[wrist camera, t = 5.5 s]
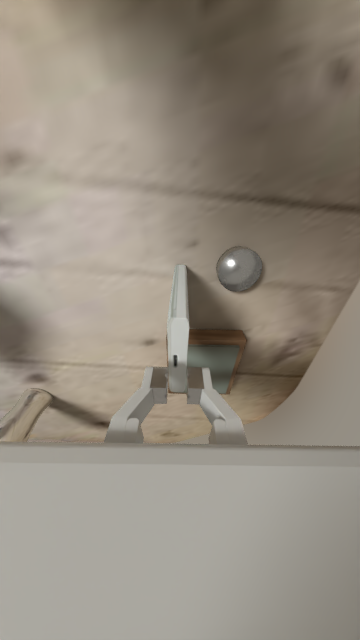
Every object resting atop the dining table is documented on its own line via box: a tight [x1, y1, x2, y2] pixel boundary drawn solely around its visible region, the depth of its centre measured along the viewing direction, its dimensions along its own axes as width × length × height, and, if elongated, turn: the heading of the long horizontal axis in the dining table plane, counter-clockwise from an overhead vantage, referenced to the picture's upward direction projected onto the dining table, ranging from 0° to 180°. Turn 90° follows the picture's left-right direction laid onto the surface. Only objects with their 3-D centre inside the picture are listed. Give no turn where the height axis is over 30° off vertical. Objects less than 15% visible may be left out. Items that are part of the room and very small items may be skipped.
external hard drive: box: [167, 265, 189, 392], centre depth 18 cm, size 2×8×12 cm, turn 179°
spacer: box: [216, 246, 262, 291], centre depth 20 cm, size 5×5×2 cm
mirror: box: [166, 329, 247, 394], centre depth 29 cm, size 14×12×3 cm
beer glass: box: [0, 388, 53, 442], centre depth 31 cm, size 7×7×15 cm
